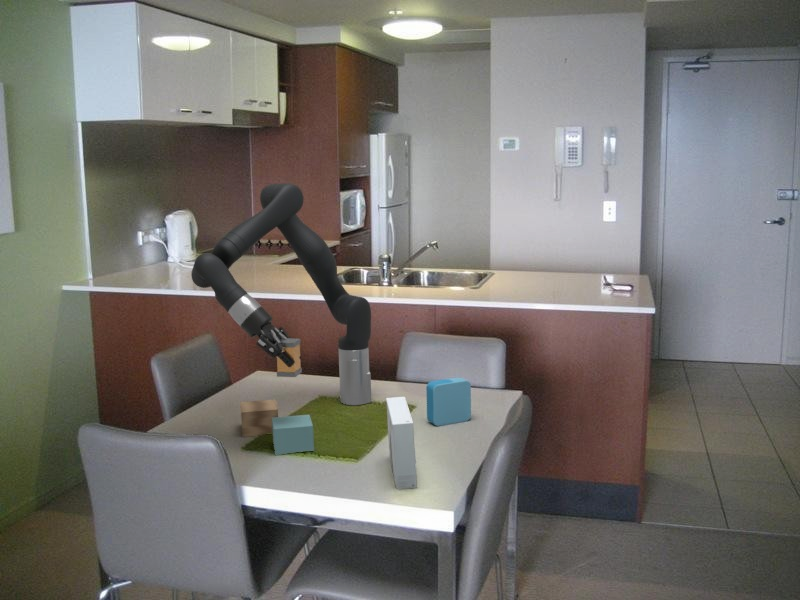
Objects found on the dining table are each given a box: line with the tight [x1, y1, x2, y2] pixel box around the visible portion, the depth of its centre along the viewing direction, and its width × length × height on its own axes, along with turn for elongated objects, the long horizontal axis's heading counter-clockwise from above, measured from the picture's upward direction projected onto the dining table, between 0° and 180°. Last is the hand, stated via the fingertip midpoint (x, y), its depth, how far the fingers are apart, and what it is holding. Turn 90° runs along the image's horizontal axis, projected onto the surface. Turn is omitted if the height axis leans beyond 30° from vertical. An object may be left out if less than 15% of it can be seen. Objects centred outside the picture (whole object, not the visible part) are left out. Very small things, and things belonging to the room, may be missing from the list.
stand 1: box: [240, 399, 279, 438], centre depth 239 cm, size 10×10×7 cm
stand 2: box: [272, 414, 315, 456], centre depth 224 cm, size 10×10×7 cm
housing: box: [276, 337, 303, 378], centre depth 221 cm, size 5×5×9 cm
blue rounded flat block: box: [425, 376, 472, 427], centre depth 242 cm, size 12×4×12 cm, turn 115°
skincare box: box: [385, 396, 418, 490], centre depth 204 cm, size 21×6×16 cm, turn 5°
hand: (295, 362), depth 221 cm, fingers closed on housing, 4 cm apart
